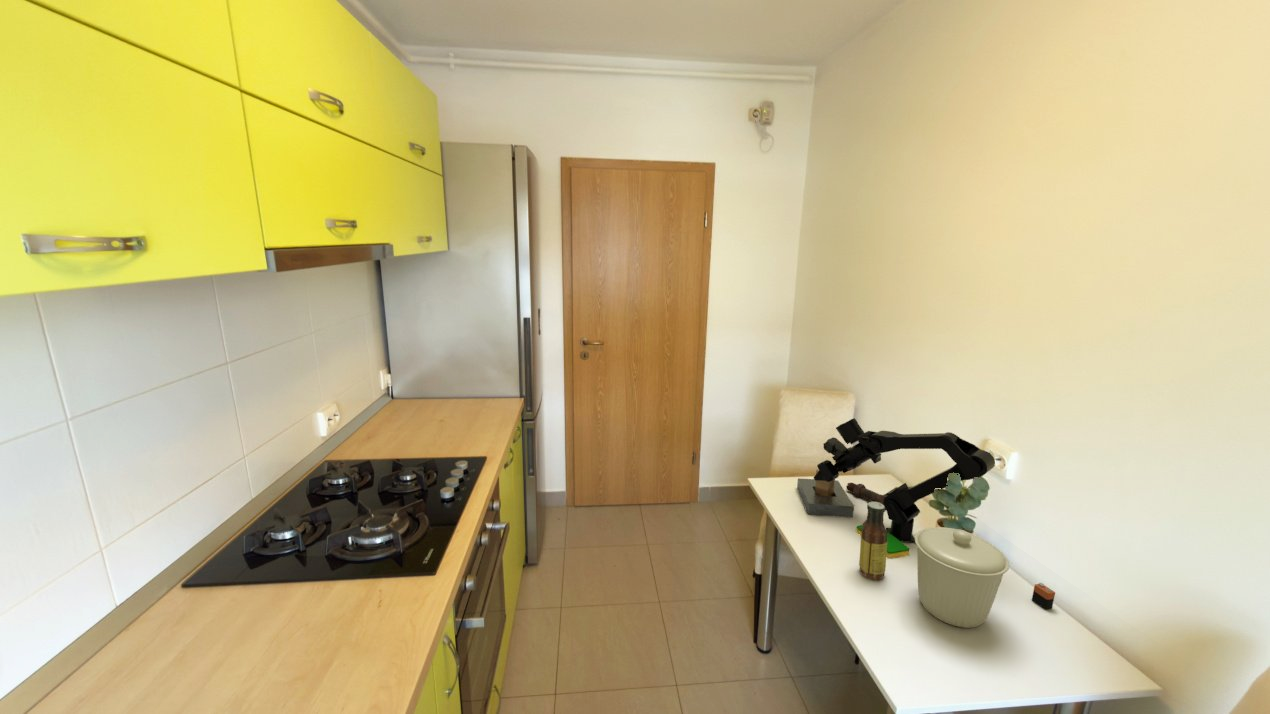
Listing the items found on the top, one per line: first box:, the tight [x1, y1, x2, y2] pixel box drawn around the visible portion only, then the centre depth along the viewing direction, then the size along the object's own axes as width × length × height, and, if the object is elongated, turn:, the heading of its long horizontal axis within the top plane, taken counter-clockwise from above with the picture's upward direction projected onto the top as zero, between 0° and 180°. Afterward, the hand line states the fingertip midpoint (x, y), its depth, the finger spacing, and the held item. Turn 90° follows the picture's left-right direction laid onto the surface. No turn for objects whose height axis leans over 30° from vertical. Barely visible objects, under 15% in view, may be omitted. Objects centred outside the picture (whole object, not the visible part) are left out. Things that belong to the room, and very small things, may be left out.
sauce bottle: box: [858, 501, 887, 581], centre depth 124 cm, size 7×6×20 cm
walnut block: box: [815, 468, 836, 497], centre depth 161 cm, size 4×4×12 cm
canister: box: [914, 526, 1010, 629], centre depth 110 cm, size 18×18×21 cm
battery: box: [1031, 582, 1056, 610], centre depth 114 cm, size 2×3×5 cm, turn 12°
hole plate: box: [796, 477, 855, 519], centre depth 161 cm, size 18×14×4 cm
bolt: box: [845, 482, 887, 511], centre depth 163 cm, size 6×5×15 cm
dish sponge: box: [855, 524, 911, 559], centre depth 139 cm, size 7×14×2 cm, turn 13°
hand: (822, 475), depth 161 cm, fingers open, 9 cm apart
